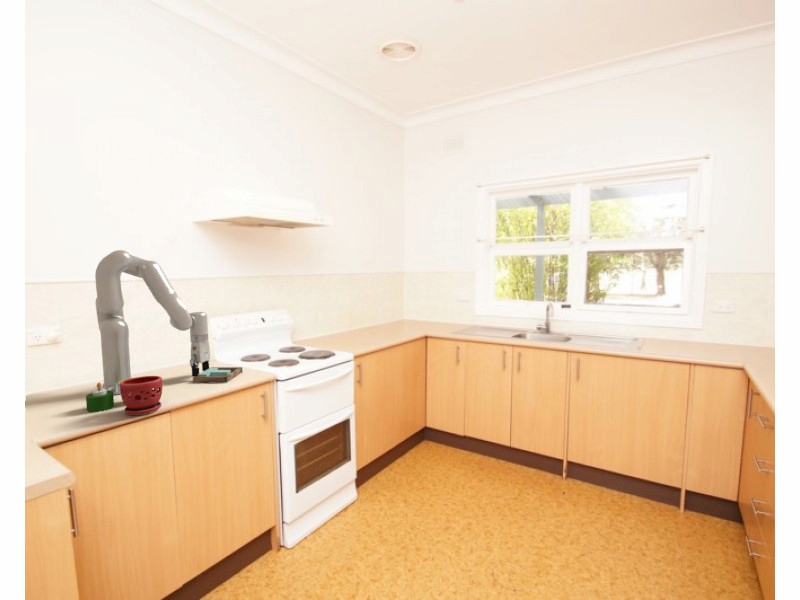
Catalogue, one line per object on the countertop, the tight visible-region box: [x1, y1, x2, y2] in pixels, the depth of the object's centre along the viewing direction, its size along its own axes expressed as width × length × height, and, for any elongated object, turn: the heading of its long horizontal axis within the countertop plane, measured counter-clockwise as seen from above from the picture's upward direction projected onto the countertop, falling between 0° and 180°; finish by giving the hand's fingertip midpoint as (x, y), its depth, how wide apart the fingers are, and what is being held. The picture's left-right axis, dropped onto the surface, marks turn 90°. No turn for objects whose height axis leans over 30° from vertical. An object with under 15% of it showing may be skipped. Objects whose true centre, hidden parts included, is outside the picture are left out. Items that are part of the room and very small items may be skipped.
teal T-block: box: [198, 367, 231, 376], centre depth 195 cm, size 12×12×3 cm
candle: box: [85, 382, 115, 413], centre depth 153 cm, size 8×8×10 cm
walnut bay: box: [192, 366, 243, 383], centre depth 195 cm, size 18×16×2 cm
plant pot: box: [120, 375, 163, 416], centre depth 150 cm, size 13×13×12 cm
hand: (200, 373), depth 195 cm, fingers open, 9 cm apart
